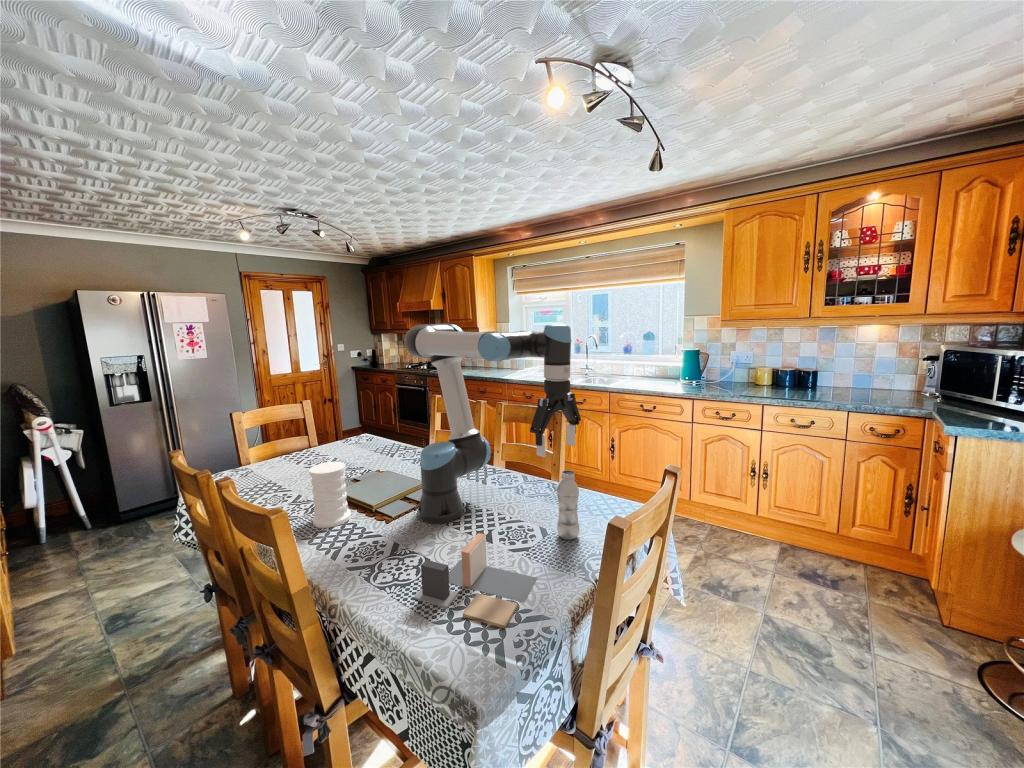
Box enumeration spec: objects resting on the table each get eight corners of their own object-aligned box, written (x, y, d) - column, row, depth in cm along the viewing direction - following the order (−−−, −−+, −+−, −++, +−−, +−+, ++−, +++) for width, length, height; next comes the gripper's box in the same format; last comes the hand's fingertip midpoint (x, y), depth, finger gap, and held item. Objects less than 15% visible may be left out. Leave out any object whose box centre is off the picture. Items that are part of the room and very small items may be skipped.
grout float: (413, 600, 93) (411, 567, 92) (426, 587, 98) (424, 555, 96) (447, 610, 90) (445, 575, 88) (458, 596, 94) (457, 563, 93)
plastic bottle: (574, 544, 115) (574, 478, 112) (553, 538, 118) (552, 473, 115) (583, 534, 120) (583, 470, 117) (562, 529, 124) (562, 466, 120)
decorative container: (338, 508, 141) (334, 459, 138) (358, 516, 134) (353, 465, 132) (306, 521, 132) (300, 469, 129) (325, 531, 125) (319, 476, 122)
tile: (462, 585, 97) (461, 551, 96) (479, 564, 105) (478, 533, 104) (470, 587, 96) (469, 553, 95) (487, 566, 104) (486, 534, 103)
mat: (441, 582, 99) (440, 580, 99) (460, 561, 108) (460, 559, 108) (524, 604, 91) (524, 602, 91) (537, 579, 99) (537, 577, 99)
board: (462, 618, 87) (462, 613, 87) (477, 597, 93) (477, 593, 93) (505, 630, 83) (505, 625, 83) (517, 608, 90) (517, 603, 89)
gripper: (537, 385, 103) (537, 464, 107) (593, 375, 120) (591, 443, 124) (516, 382, 109) (517, 457, 112) (573, 373, 126) (572, 438, 129)
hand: (556, 450), depth 118 cm, fingers open, 13 cm apart
